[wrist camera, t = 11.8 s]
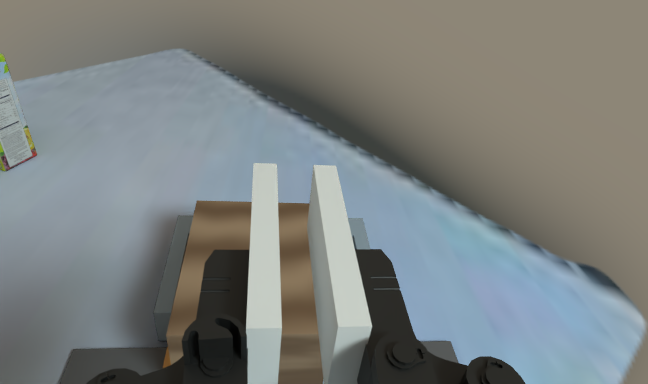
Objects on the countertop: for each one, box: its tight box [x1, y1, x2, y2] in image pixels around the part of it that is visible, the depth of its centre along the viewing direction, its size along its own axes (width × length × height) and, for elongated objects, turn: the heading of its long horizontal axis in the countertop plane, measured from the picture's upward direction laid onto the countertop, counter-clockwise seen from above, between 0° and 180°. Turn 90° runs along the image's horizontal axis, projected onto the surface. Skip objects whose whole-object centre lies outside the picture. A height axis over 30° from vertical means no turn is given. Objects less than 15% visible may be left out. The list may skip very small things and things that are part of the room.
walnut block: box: [166, 201, 323, 384], centre depth 42 cm, size 16×12×9 cm
